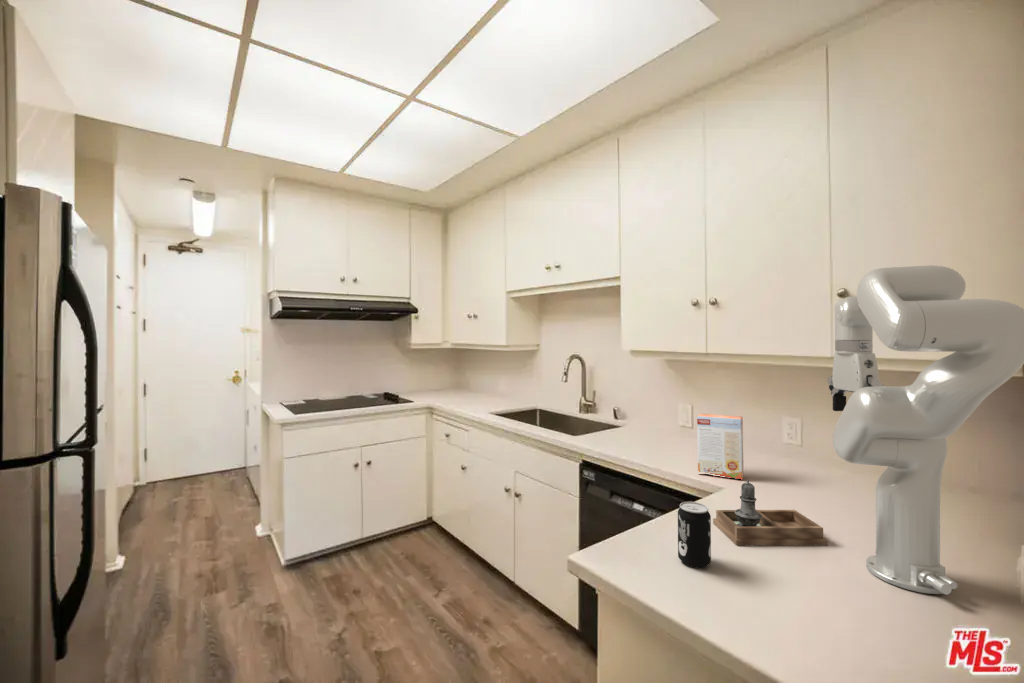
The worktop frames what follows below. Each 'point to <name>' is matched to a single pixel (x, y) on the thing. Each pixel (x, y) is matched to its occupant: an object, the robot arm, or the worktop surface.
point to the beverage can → (694, 534)
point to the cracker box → (720, 445)
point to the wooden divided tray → (771, 529)
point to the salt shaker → (747, 506)
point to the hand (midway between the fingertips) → (853, 414)
